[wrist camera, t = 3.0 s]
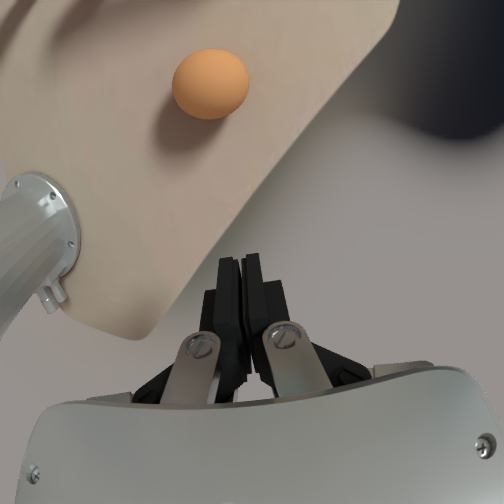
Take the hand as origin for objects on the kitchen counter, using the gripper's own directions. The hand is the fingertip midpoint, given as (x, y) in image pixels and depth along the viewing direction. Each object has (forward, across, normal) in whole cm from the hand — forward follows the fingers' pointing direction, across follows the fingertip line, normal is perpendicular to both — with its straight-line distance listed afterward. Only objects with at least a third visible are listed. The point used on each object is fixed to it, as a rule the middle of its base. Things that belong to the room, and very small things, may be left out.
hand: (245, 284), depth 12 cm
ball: (+11, +1, -10) cm, 14 cm away
